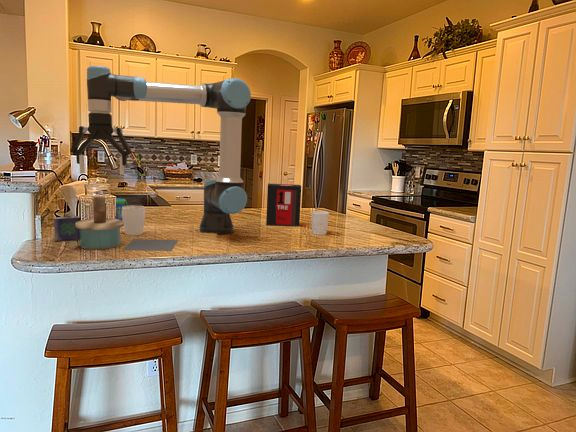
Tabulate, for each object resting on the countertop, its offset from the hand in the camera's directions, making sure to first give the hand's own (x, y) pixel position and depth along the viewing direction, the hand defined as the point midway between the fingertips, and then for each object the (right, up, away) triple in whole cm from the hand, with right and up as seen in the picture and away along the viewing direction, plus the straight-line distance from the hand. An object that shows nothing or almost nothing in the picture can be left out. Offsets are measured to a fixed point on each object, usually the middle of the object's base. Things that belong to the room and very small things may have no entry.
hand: (102, 174), depth 152 cm
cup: (+3, -23, +24) cm, 33 cm away
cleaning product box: (+64, -19, +64) cm, 92 cm away
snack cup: (-18, -17, +54) cm, 60 cm away
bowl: (-2, -26, +3) cm, 27 cm away
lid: (-2, -18, +2) cm, 19 cm away
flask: (-18, -25, +11) cm, 33 cm away
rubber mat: (+16, -27, +6) cm, 32 cm away
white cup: (+81, -23, +45) cm, 95 cm away
